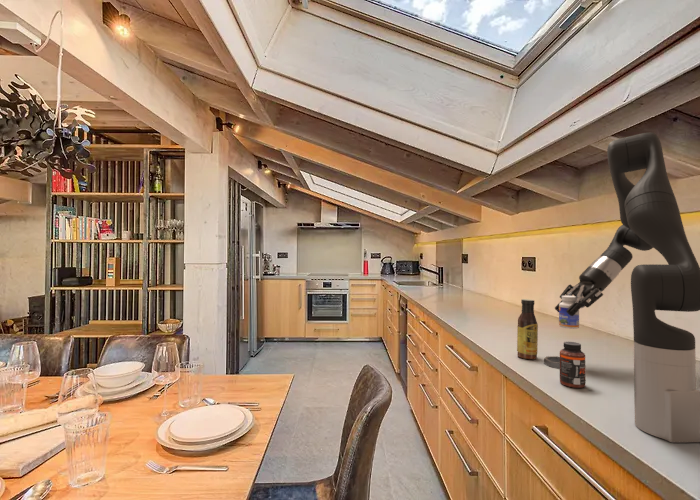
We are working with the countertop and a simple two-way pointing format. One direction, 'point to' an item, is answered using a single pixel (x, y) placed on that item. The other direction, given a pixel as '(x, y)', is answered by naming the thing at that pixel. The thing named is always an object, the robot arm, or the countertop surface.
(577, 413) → the countertop surface
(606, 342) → the countertop surface
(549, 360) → the locating collar
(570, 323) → the pill bottle
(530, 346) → the sauce bottle
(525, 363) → the countertop surface
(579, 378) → the supplement bottle
